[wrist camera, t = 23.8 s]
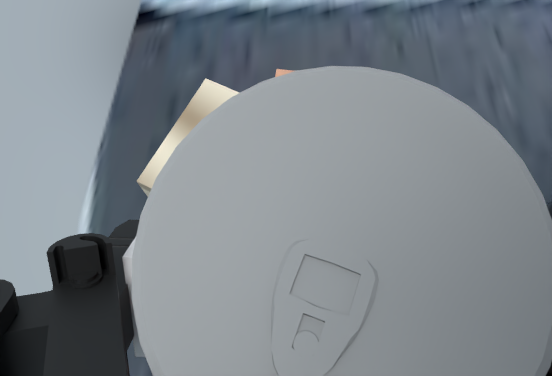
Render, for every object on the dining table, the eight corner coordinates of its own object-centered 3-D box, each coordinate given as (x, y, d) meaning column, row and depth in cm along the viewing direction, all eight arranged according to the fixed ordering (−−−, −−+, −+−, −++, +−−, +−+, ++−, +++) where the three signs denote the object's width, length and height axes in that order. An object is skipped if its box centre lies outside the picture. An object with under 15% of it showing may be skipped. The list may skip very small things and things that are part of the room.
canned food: (200, 432, 17) (74, 481, 7) (229, 221, 20) (171, 48, 10) (417, 455, 17) (611, 543, 7) (413, 236, 20) (540, 71, 10)
